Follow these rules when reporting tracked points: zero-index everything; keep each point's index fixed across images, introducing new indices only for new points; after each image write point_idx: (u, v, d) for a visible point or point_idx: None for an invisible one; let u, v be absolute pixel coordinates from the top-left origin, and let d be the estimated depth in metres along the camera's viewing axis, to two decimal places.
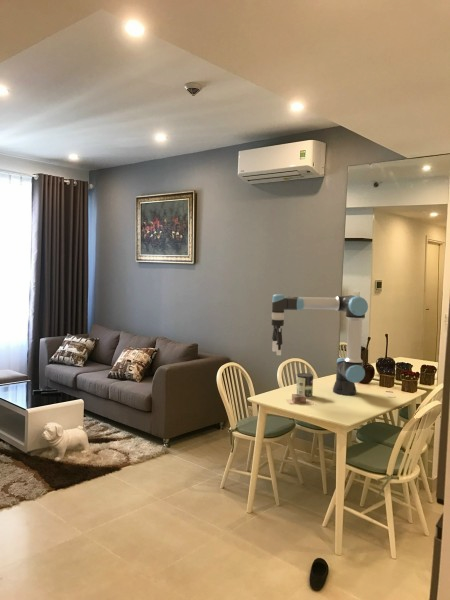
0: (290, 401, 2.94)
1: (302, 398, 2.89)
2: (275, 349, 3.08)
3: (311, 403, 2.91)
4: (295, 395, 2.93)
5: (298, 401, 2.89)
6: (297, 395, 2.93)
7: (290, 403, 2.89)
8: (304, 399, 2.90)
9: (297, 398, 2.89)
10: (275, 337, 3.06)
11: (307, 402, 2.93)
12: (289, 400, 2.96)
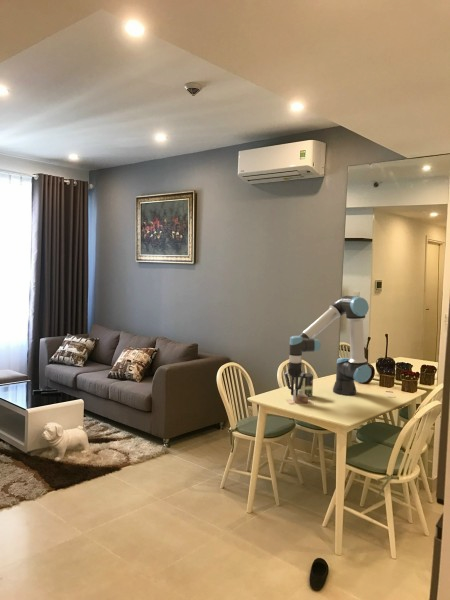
0: (290, 401, 2.94)
1: (304, 398, 2.90)
2: None
3: (311, 403, 2.91)
4: (297, 395, 2.93)
5: (300, 401, 2.89)
6: (299, 395, 2.93)
7: (290, 403, 2.89)
8: (306, 399, 2.90)
9: (299, 398, 2.89)
10: (295, 383, 2.92)
11: None
12: (289, 400, 2.96)
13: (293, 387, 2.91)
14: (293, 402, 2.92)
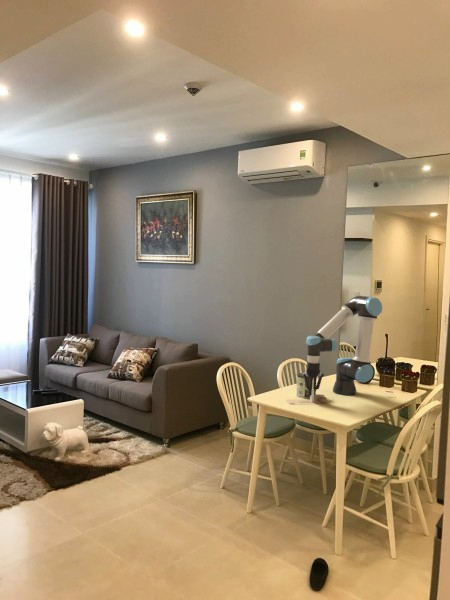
0: (290, 401, 2.94)
1: (322, 398, 2.90)
2: None
3: (311, 403, 2.91)
4: (315, 395, 2.94)
5: (318, 402, 2.90)
6: (317, 395, 2.94)
7: (290, 403, 2.89)
8: (324, 400, 2.91)
9: (317, 398, 2.90)
10: (313, 383, 2.93)
11: (307, 402, 2.93)
12: (289, 400, 2.96)
13: (311, 387, 2.92)
14: (293, 402, 2.92)
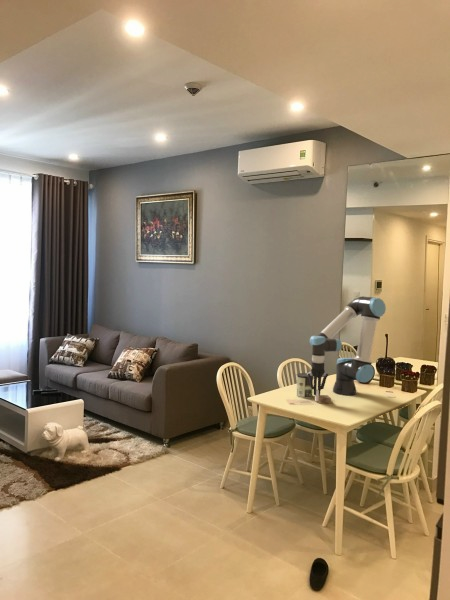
0: (290, 401, 2.94)
1: (327, 399, 2.91)
2: None
3: (311, 403, 2.91)
4: (320, 396, 2.94)
5: (323, 402, 2.91)
6: (322, 396, 2.94)
7: (290, 403, 2.89)
8: (329, 400, 2.91)
9: (322, 399, 2.90)
10: (318, 383, 2.93)
11: (307, 402, 2.93)
12: (289, 400, 2.96)
13: (316, 387, 2.92)
14: (293, 402, 2.92)
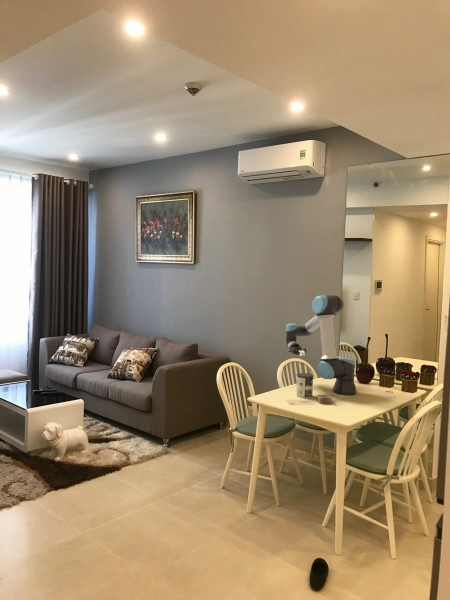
0: (290, 401, 2.94)
1: (327, 399, 2.91)
2: None
3: (311, 403, 2.91)
4: (320, 396, 2.94)
5: (323, 402, 2.91)
6: (322, 396, 2.94)
7: (290, 403, 2.89)
8: (329, 400, 2.91)
9: (322, 399, 2.91)
10: None
11: (307, 402, 2.93)
12: (289, 400, 2.96)
13: None
14: (293, 402, 2.92)
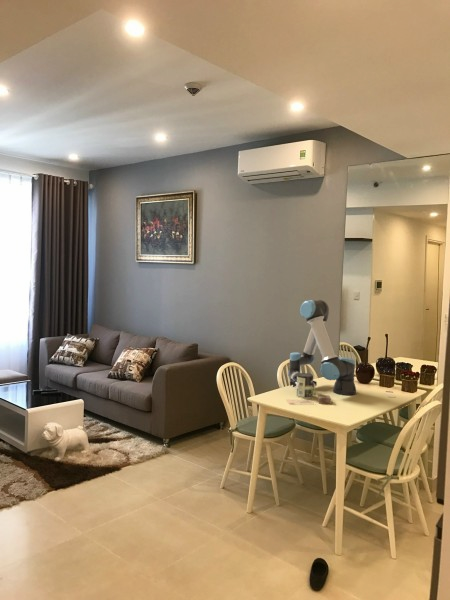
0: (290, 401, 2.94)
1: (327, 399, 2.91)
2: None
3: (311, 403, 2.91)
4: (320, 396, 2.95)
5: (323, 402, 2.91)
6: (322, 396, 2.95)
7: (290, 403, 2.89)
8: (329, 400, 2.91)
9: (321, 399, 2.91)
10: None
11: (307, 402, 2.93)
12: (289, 400, 2.96)
13: None
14: (293, 402, 2.92)
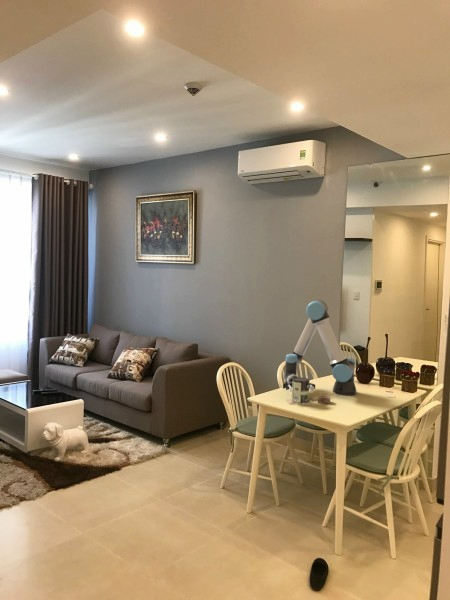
0: (290, 401, 2.94)
1: (326, 399, 2.90)
2: None
3: (311, 403, 2.91)
4: (320, 396, 2.95)
5: (322, 402, 2.91)
6: (322, 396, 2.95)
7: (290, 403, 2.89)
8: (328, 400, 2.90)
9: (320, 398, 2.91)
10: (290, 385, 2.98)
11: None
12: (289, 400, 2.96)
13: (309, 388, 2.98)
14: None
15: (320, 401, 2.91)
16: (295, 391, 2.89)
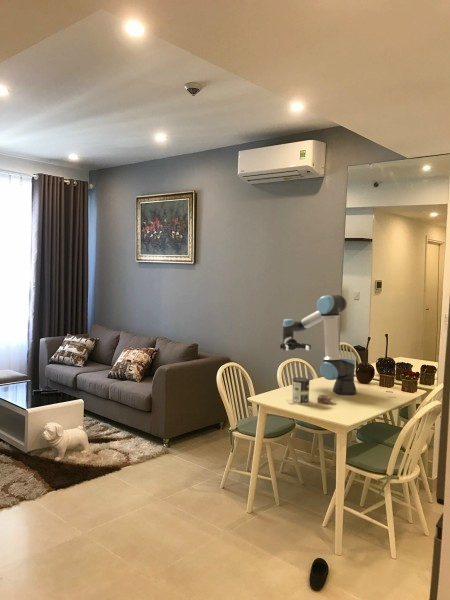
0: (290, 401, 2.94)
1: (325, 399, 2.90)
2: None
3: (311, 403, 2.91)
4: (320, 396, 2.95)
5: (321, 402, 2.91)
6: (322, 396, 2.95)
7: (290, 403, 2.89)
8: (327, 400, 2.90)
9: (320, 398, 2.91)
10: (287, 346, 3.18)
11: None
12: (289, 400, 2.96)
13: (305, 348, 3.17)
14: None
15: (319, 401, 2.92)
16: (295, 391, 2.89)
